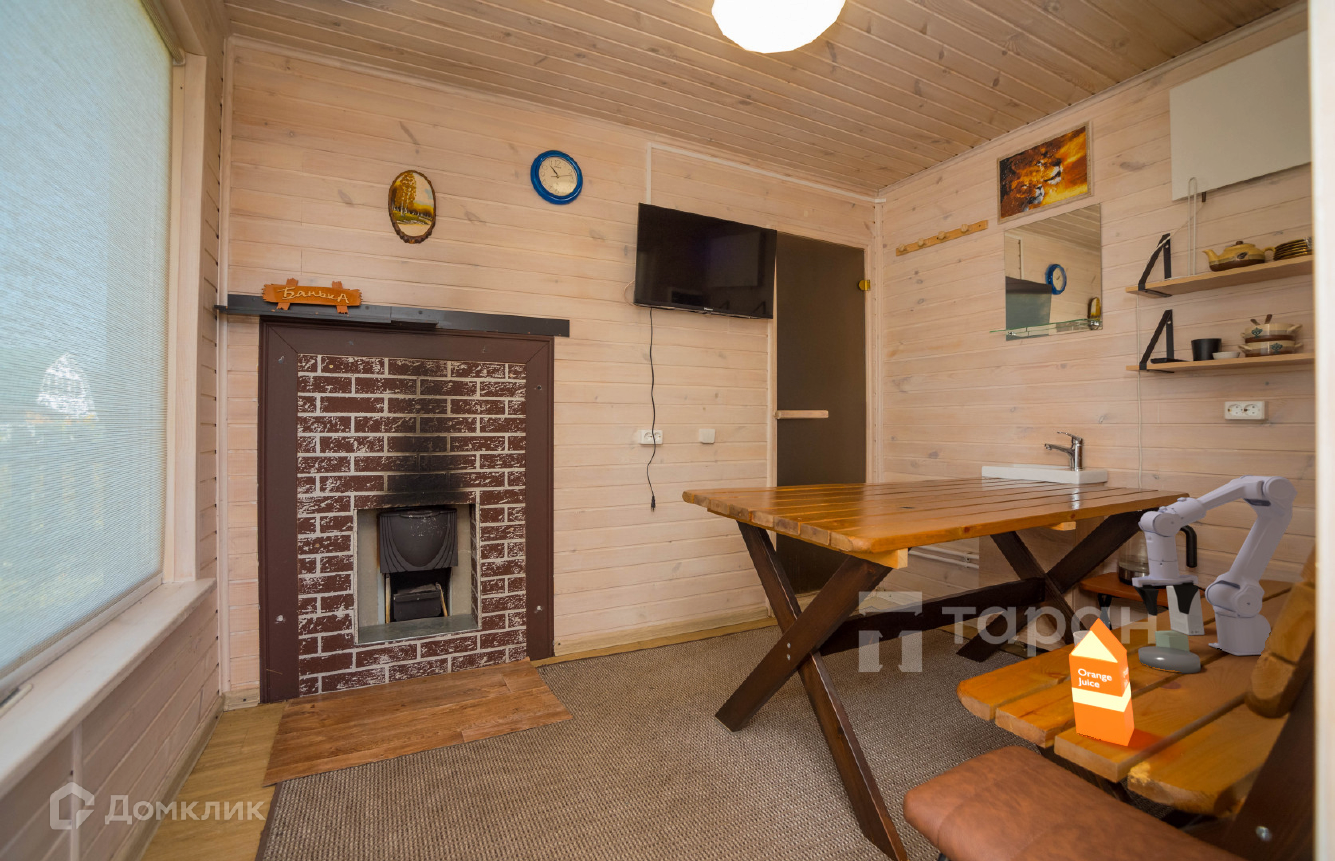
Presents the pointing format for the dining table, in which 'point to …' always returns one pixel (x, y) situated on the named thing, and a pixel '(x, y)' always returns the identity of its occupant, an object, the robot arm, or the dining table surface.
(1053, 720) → the dining table surface
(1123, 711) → the orange juice
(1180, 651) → the charcoal base
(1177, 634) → the green cube
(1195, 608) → the skincare box
